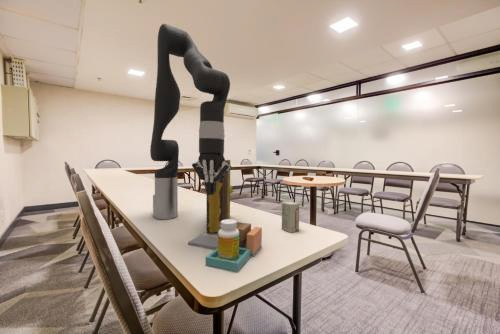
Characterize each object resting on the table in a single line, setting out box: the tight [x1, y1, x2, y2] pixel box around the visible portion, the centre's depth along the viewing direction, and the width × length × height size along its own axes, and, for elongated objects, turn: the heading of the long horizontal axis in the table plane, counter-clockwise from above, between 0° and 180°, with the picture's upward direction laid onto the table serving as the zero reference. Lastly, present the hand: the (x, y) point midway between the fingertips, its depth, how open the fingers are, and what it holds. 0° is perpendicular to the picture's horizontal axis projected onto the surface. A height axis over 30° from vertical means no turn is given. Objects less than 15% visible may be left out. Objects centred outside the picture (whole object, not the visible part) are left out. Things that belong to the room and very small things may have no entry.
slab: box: [216, 221, 252, 248], centre depth 65 cm, size 8×6×5 cm
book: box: [205, 159, 234, 235], centre depth 87 cm, size 22×8×25 cm, turn 179°
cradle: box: [204, 247, 252, 273], centre depth 57 cm, size 9×9×2 cm
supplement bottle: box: [218, 218, 239, 261], centre depth 57 cm, size 5×5×10 cm
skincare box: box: [281, 201, 300, 233], centre depth 81 cm, size 5×4×10 cm
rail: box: [187, 226, 263, 257], centre depth 66 cm, size 21×7×6 cm, turn 69°
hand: (210, 194), depth 68 cm, fingers closed
